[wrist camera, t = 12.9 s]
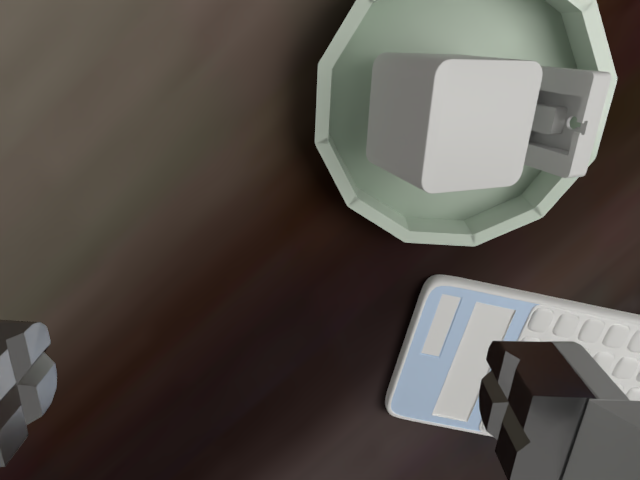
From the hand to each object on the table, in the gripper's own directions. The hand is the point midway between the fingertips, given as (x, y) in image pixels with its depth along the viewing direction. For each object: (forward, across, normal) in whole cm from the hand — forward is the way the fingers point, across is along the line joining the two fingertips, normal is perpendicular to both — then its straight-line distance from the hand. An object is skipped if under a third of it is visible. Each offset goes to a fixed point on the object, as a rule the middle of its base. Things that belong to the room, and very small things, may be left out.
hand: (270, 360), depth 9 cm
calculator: (+25, -18, +18) cm, 35 cm away
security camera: (+21, -14, -2) cm, 26 cm away
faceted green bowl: (+24, -9, -2) cm, 26 cm away
